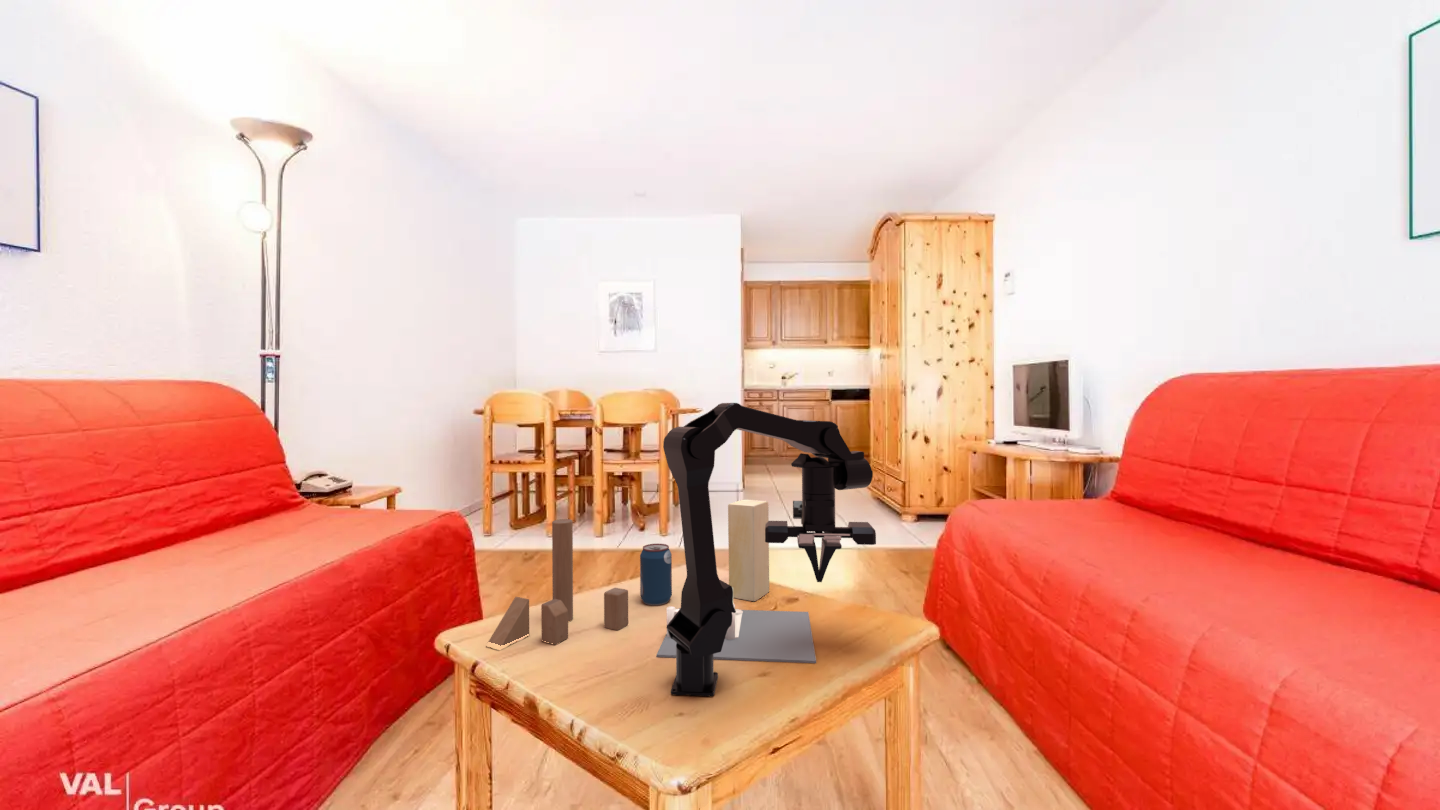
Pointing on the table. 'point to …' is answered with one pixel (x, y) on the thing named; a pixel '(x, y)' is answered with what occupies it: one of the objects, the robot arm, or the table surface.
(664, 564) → the soda can
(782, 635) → the card
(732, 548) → the tall beige block
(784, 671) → the table surface
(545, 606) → the wooden blocks
